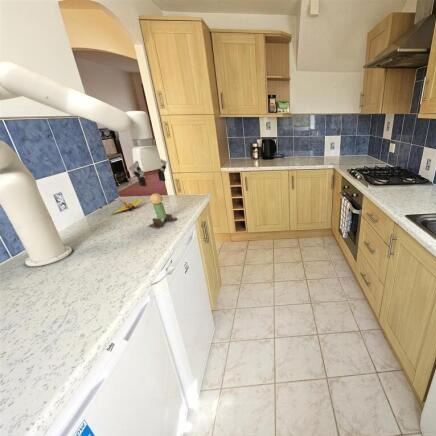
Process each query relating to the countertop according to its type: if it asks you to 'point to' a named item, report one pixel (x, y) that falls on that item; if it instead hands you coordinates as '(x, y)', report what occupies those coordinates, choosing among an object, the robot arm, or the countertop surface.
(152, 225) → the stand
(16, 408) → the countertop surface
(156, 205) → the peg doll
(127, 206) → the origami crane
